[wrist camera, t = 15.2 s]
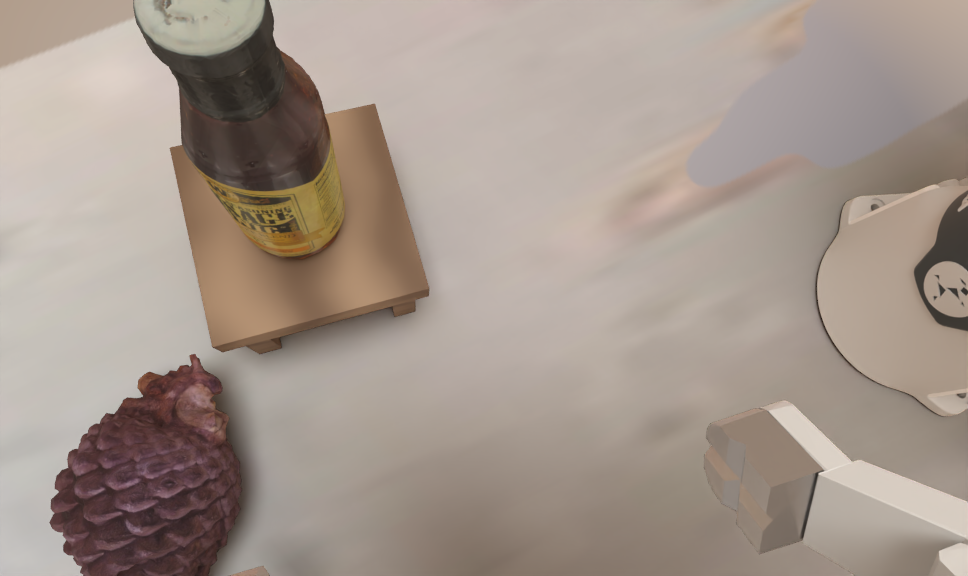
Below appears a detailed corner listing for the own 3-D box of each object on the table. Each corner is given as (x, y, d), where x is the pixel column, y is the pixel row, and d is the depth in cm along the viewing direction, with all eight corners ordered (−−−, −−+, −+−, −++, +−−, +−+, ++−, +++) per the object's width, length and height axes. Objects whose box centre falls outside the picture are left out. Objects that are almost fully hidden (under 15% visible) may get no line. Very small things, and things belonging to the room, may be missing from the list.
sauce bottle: (223, 229, 38) (23, 5, 18) (285, 152, 39) (162, -128, 20) (313, 287, 37) (205, 119, 18) (372, 206, 39) (330, -25, 20)
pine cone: (248, 635, 40) (195, 695, 31) (86, 643, 39) (-22, 707, 30) (266, 364, 45) (225, 342, 35) (121, 364, 44) (38, 342, 34)
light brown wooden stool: (382, 163, 49) (374, 103, 41) (426, 317, 47) (429, 288, 38) (215, 202, 47) (169, 147, 39) (252, 366, 45) (212, 347, 36)
